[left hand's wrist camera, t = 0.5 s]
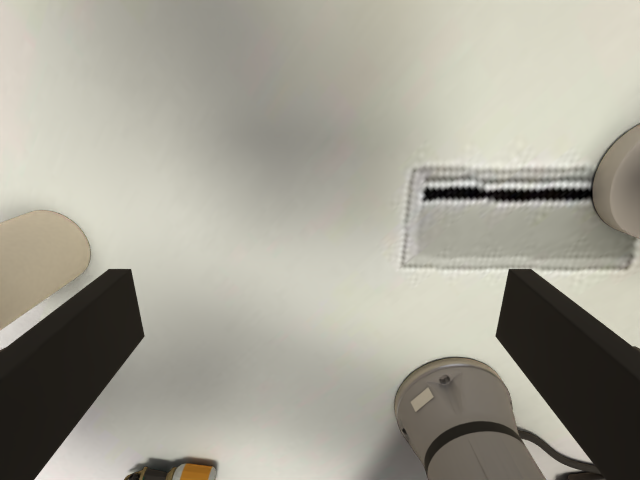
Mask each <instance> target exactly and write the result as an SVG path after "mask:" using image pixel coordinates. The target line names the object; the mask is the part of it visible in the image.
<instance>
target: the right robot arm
mask: <svg viewBox="0 0 640 480" xmlns="http://www.w3.org/2000/svg"><path fill="white" fill-rule="evenodd" d="M395 414H396V418H397V422H398V426H399V428H400V431H401V432H402V434H403V436H404V437H405V439H406V440H407V441H408V442H409V444H410V446H411V447H412V449H413V450H414V452H415V453H416V455H417V456H418V458H419V459H420V461H421V462H422V464H423V465H424V467H425V470H426V474H427V477H428V480H546V479H545V477H544V476H543V474H542V472H541V471H540V469H539V467H538V466H537V464H536V463H535V461H534V459H533V458H532V456H531V454H530V453H529V451H528V449H527V448H526V446H525V445H524V443H523V441H522V440H521V439H525V440H529V441H531V442H533V443H535V444H536V445H538V446H539V447H541V448H542V449H543V450H544V451H545V452H547V453H548V454H549V455H550V456H551V457H553V458H554V459H555V460H557V461H559V462H560V463H562V464H564V465H567V466H569V467H572V468H575V469H579V470H583V471H587V472H592V473H597V474H601V473H600V471H599V470H598V469H597V467H596V466H594V465H589V464H584V463H580V462H576V461H573V460H570V459H568V458H566V457H563V456H562V455H560V454H558V453H557V452H555V451H554V450H553V449H552V448H551V447H550V446H548V445H547V444H546V443H545V442H544V441H542V440H541V439H540V438H538V437H536V436H534V435H533V434H530V433H527V432H524V431H519V430H517V426H516V422H515V418H514V414H513V407H512V401H511V397H510V394H509V391H508V389H507V388H506V386H505V384H504V383H503V381H502V380H501V378H500V377H499V376H498V374H497V373H496V372H495V371H494V370H493V369H491V368H490V367H489V366H487V365H485V364H483V363H481V362H478V361H476V360H472V359H466V358H447V359H441V360H437V361H434V362H431V363H429V364H426V365H424V366H422V367H420V368H419V369H417V370H416V371H414V372H413V373H412V374H411V375H410V376H408V377H407V379H406V380H405V381H404V382H403V383H402V385H401V386H400V388H399V390H398V392H397V395H396V398H395Z"/></svg>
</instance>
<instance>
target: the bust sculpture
mask: <svg viewBox="0 0 640 480" xmlns="http://www.w3.org/2000/svg"><path fill="white" fill-rule="evenodd" d="M593 202H594V205H595V208H596V211H597V213H598V214H599V216H600V217H601V219H602V220H603V221H604V222H605V223H606V224H608V225H609V226H611V227H612V228H614V229H616V230H619V231H621V232H624V233H626V234H629V235H631V236H633V237H636V238H639V239H640V125H638V126H636V127H634V128H633V129H631V130H630V131H628V132H627V133H625V134H624V135H623V136H622V137H621V138H619V139H618V140H617V141H616V142H615V143H614V144H613V146H612V147H611V148H610V149H609V150H608V152H607V153H606V154H605V156H604V158H603V159H602V161H601V163H600V165H599V167H598V169H597V172H596V175H595V178H594V183H593Z"/></svg>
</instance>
